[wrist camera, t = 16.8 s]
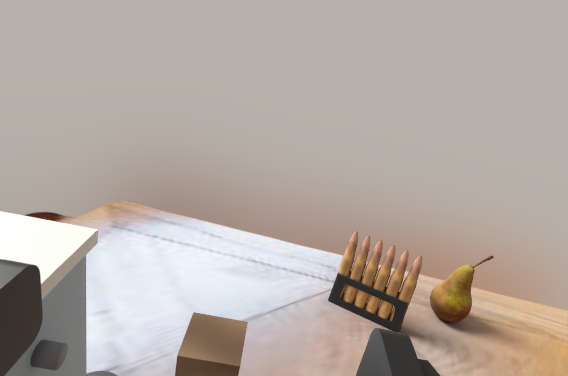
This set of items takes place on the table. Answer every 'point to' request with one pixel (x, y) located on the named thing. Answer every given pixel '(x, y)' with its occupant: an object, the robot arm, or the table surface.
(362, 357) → the robot arm
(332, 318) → the table surface
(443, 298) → the fruit
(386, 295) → the ammunition clip
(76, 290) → the cabinet
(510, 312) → the table surface
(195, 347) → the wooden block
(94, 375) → the steel puck
